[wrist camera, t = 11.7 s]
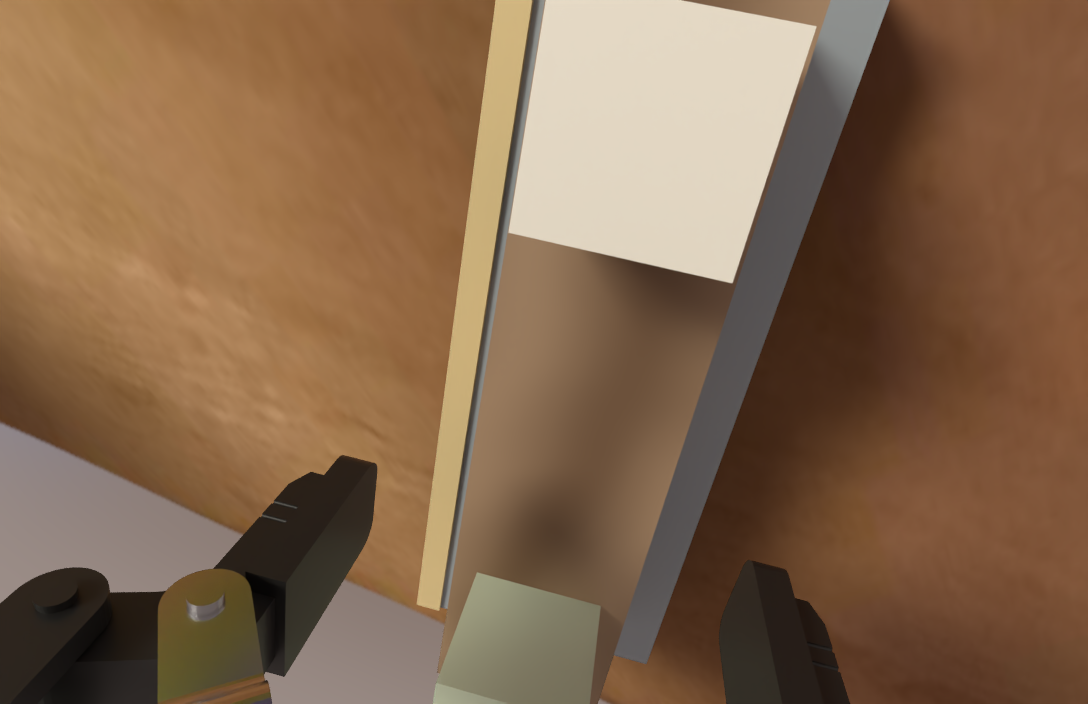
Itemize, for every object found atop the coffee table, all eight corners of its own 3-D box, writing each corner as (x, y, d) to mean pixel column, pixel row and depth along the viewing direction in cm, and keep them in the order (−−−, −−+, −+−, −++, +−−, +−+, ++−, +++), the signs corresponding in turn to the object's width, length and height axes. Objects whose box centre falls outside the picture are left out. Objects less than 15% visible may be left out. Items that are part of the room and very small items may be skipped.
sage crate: (461, 658, 22) (421, 776, 18) (476, 572, 20) (436, 682, 16) (575, 690, 21) (557, 816, 18) (600, 606, 20) (587, 726, 16)
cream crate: (545, 194, 15) (508, 232, 11) (580, 2, 13) (549, -25, 9) (714, 231, 14) (732, 283, 11) (772, 40, 13) (816, 25, 9)
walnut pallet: (472, 579, 26) (437, 672, 22) (580, -27, 17) (554, -60, 13) (604, 615, 26) (593, 716, 22) (790, 13, 16) (833, -8, 12)
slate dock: (446, 539, 31) (416, 604, 27) (541, -94, 20) (513, -134, 16) (648, 593, 30) (646, 668, 26) (863, -34, 19) (914, -62, 15)
